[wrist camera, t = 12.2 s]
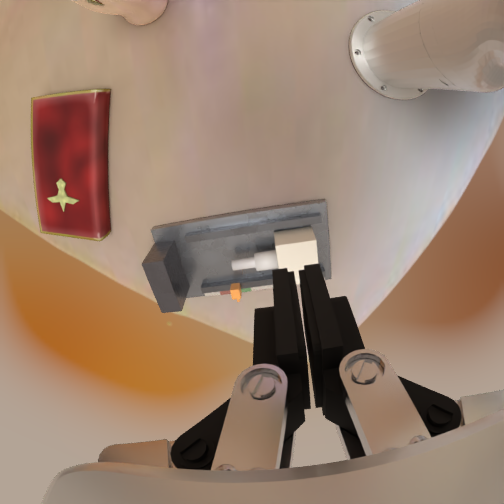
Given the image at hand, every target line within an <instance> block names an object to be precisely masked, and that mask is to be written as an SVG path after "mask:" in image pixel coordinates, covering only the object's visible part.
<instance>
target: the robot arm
mask: <svg viewBox="0 0 504 504" xmlns="http://www.w3.org/2000/svg"><path fill="white" fill-rule="evenodd" d="M368 19H370V20H371V22H370V21H369V20H368ZM349 51H350V57H351V60H352V63H353V65H354V67H355V69H356V71H357V73H358V74H359V76H360V77H361V78H362V80H363V81H364V82H365V83H366V84H367V85H368V86H369V87H370V88H372V89H373V90H375V91H376V92H377V93H379V94H381V95H383V96H386V97H389V98H392V99H399V100H409V99H414V98H417V97H419V96H421V95H423V94H424V93H425V92H427V91H428V90H429V89H444V90H458V91H469V92H482V93H487V92H494V91H497V90H500V89H502V88H503V87H504V0H419V1H417V2H415V3H413V4H411V5H409V6H407V7H405V8H403V9H401V10H399V11H397V12H395V11H390V10H379V11H374V12H371V13H369V14H367V15H365V16H364V17H362V18H361V19H360V20H359V21H358V22H357V23H356V24H355V26H354V27H353V29H352V31H351V35H350V38H349ZM354 52H357V55H356V54H355V53H354ZM381 87H383V90H381ZM418 89H419V90H418ZM272 277H273V295H274V306H273V307H265V308H257V309H255V314H254V347H253V366H251V367H249V368H247V369H245V370H244V371H242V373H241V374H240V375H239V376H238V378H237V380H236V382H235V385H234V388H233V392H232V396H231V398H230V399H228V400H227V401H226V402H225V403H224V404H222V405H221V406H220V407H219V408H217V409H216V410H214V411H213V412H212V413H211V414H209V415H208V416H207V417H205V418H204V419H203V420H201V421H200V422H199V423H197V424H196V425H195V426H193V427H192V428H190V429H189V430H188V431H186V432H185V433H184V434H182V435H181V436H180V437H179V438H178V439H177V440H175V441H168V440H167V439H163V440H155V441H147V442H138V443H127V444H114V445H110V446H108V447H106V448H105V449H104V450H103V451H102V452H101V453H100V455H99V459H98V462H94V463H85V464H80V465H76V466H72V467H69V468H67V469H64V470H63V471H61V472H59V473H58V474H57V475H56V476H55V477H54V479H53V480H52V482H51V483H50V485H49V487H48V489H47V491H46V493H45V495H44V498H43V501H42V503H41V504H504V390H499V391H494V392H489V393H483V394H477V395H471V396H464V397H460V399H459V400H455V401H454V400H452V399H451V398H449V397H447V396H444V395H442V394H440V393H437V392H435V391H432V390H430V389H428V388H425V387H422V386H421V385H418V384H416V383H413V382H411V381H409V380H406V379H404V378H402V377H400V376H397V374H396V372H395V371H394V369H393V367H392V366H391V364H390V362H389V361H388V359H387V358H386V357H385V356H384V355H383V354H381V353H380V352H378V351H375V350H371V349H365V347H364V344H363V342H362V339H361V336H360V333H359V330H358V327H357V324H356V321H355V318H354V316H353V313H352V310H351V307H350V304H349V302H348V299H347V297H346V296H342V297H335V298H330V296H329V293H328V290H327V287H326V283H325V280H324V277H323V274H322V270H321V267H320V264H319V263H317V264H310V265H304V270H299V279H300V288H301V298H302V308H303V318H304V328H305V336H306V342H307V349H308V355H309V362H310V369H311V376H312V383H313V391H314V398H315V406H316V408H318V407H322V411H323V415H325V418H326V419H328V420H329V421H331V422H333V423H335V424H336V430H337V432H338V435H339V438H340V441H341V444H342V446H343V449H344V452H345V455H346V458H347V460H345V461H339V462H333V463H327V464H320V465H312V466H304V467H295V468H292V460H293V453H294V444H295V436H296V432H295V431H296V430H297V429H298V428H299V427H300V425H302V424H303V423H304V422H305V414H304V409H310V408H311V406H310V391H309V377H308V364H307V353H306V345H305V338H304V331H303V325H302V318H301V312H300V305H299V299H298V293H297V287H296V281H295V275H294V271H290V272H288V270H287V268H283V269H276V270H272Z"/></svg>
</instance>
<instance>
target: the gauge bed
mask: <svg viewBox="0 0 504 504" xmlns="http://www.w3.org/2000/svg"><path fill="white" fill-rule="evenodd" d="M304 227H312V230H313V232H314V235H315V238H316V242H317V254H318V263H319V264H320V267H321V270H322V274H323V277H324V280H327V279H331V263H330V245H329V230H328V217H327V205H326V201H325V199H321V200H314V201H307V202H299V203H292V204H285V205H278V206H272V207H265V208H259V209H252V210H246V211H240V212H233V213H227V214H221V215H215V216H210V217H204V218H198V219H192V220H187V221H181V222H176V223H171V224H165V225H160V226H155V227H153V228H152V229H151V232H152V235H153V238H154V241H155V244H154V245H153V247H152V248H151V250H150V252H149V253H148V255H147V256H146V258H145V259H144V261H143V263H142V266H143V268H144V271H145V273H146V276H147V278H148V281H149V283H150V286H151V288H152V291H153V293H154V295H155V298H156V300H157V303H158V305H159V307H160V309H161V312H162V313H166V312H177V311H182V309H183V306H184V303H185V300H186V298H190V297H199V296H213V295H224V294H231V292H230V288H231V284H233V283H240V287H241V291H242V292H248V291H254V290H262V289H269V288H273V277H272V270H276V269H279V267H278V268H276V269H269V270H262V271H257V270H256V268H248V269H241V270H234V271H233V269H232V260H236V259H243V258H250V257H254V253H258V252H265V251H272V250H276V248H275V238H274V232H276V231H283V230H290V229H297V228H304ZM296 285H298V284H296Z"/></svg>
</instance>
